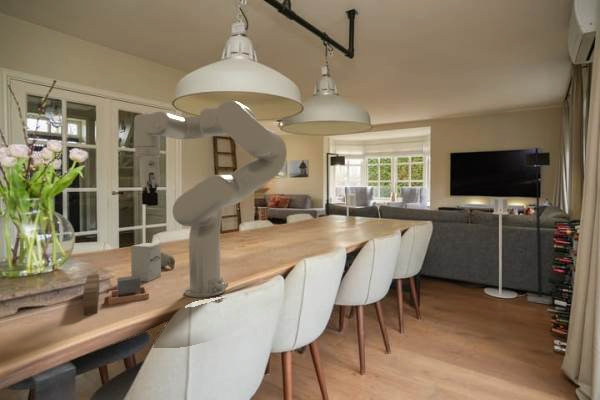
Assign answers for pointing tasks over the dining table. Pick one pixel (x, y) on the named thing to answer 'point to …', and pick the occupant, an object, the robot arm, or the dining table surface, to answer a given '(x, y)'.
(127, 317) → the dining table surface
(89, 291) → the board
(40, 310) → the dining table surface
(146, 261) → the supplement box
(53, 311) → the dining table surface
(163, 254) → the decorative bird
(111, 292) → the key collar
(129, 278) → the bar
